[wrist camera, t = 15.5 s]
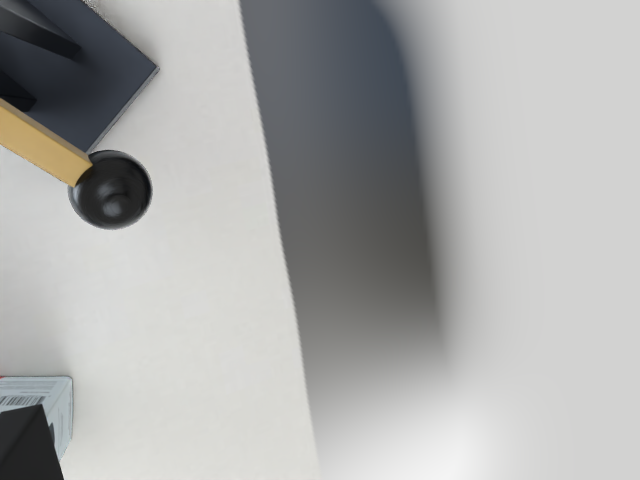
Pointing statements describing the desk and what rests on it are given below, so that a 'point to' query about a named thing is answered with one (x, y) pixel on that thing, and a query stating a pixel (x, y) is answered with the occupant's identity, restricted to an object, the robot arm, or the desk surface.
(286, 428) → the desk surface
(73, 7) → the switch bracket
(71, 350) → the desk surface
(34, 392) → the ink box
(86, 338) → the desk surface
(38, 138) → the lever
